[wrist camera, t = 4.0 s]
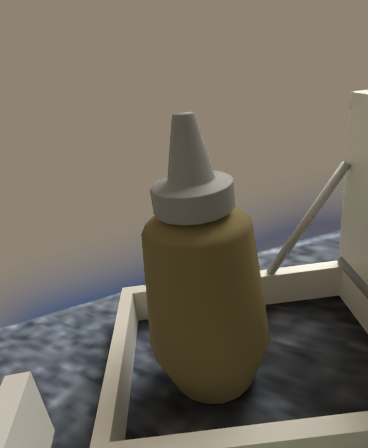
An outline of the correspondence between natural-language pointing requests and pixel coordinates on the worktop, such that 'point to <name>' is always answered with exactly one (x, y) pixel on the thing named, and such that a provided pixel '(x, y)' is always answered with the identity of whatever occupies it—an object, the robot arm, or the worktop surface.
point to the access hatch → (273, 293)
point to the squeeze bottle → (202, 275)
